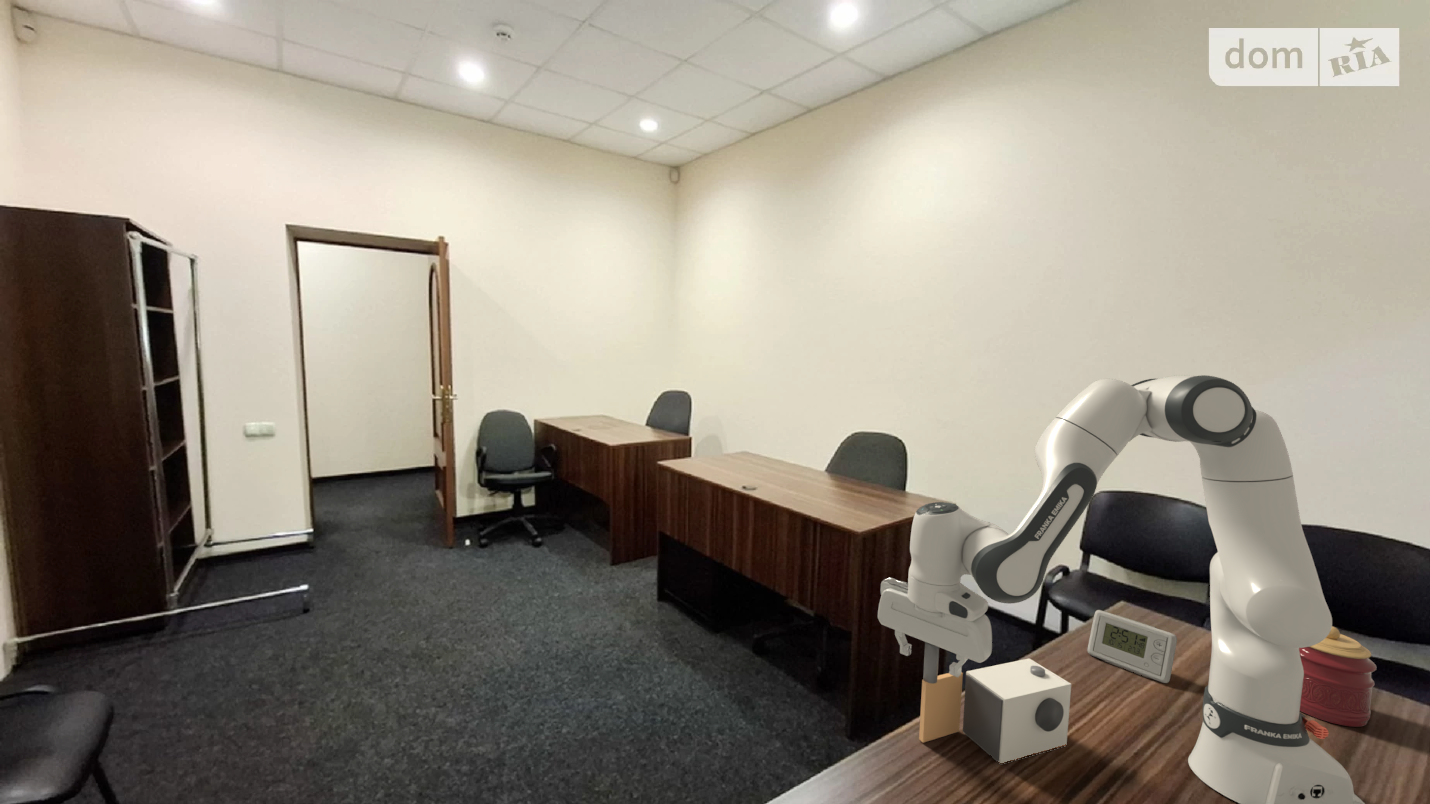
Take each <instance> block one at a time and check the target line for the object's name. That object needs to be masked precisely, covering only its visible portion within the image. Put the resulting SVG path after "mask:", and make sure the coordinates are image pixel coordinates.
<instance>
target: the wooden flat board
mask: <svg viewBox="0 0 1430 804" xmlns="http://www.w3.org/2000/svg"><path fill="white" fill-rule="evenodd" d="M923 657H924V658H923V677H922V678H923V679H921V695H920V696H921V699H920V716H919V733H918V734H919V735H918V740H919V741H920V742H921V743H926V742H927V743H928V742H929V741H933V740H936V739H939V738H942V737H946V736H948V735H952V734H956V733H959V732H960V726H961V725H960V724H961V710H962V694H963V692H962V691H963V679H964V678H963V677H964V676H963V675H964V672H962V671H961V675H960V676H959V677H955V676H953V675H951V674H949V672H948V673H943V674H939V675H938V673H939V658H940V647H937V646H935V645H932V644H930V643H927V642H925V641H924V656H923Z"/></svg>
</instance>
